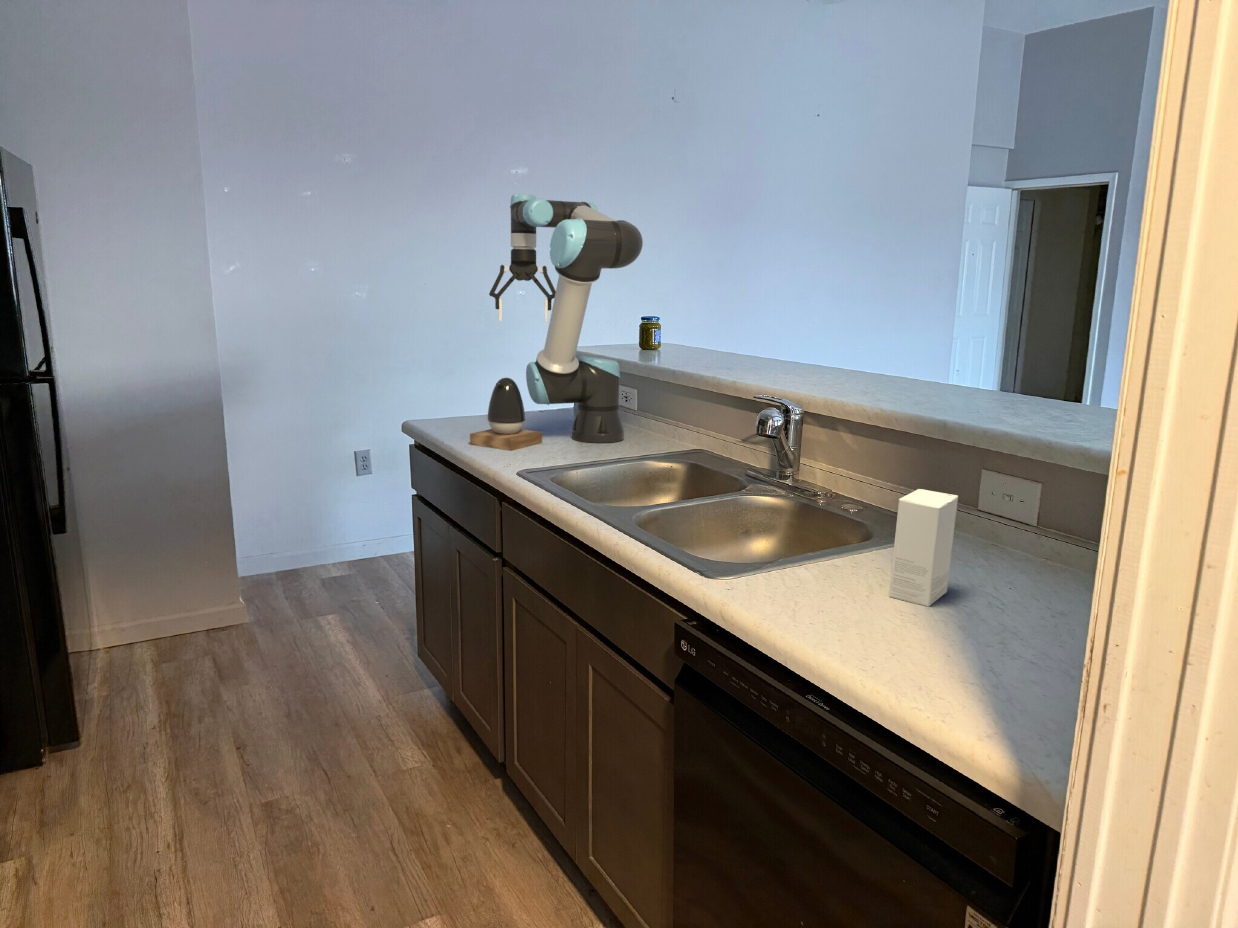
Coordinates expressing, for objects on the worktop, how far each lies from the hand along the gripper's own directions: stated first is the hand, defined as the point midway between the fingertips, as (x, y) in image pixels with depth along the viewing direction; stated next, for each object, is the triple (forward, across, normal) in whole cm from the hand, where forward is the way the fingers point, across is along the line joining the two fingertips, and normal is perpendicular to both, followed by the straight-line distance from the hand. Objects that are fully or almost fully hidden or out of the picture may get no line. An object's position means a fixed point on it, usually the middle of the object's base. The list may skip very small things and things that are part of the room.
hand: (523, 321), depth 268 cm
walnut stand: (+32, +4, +30) cm, 44 cm away
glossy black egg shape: (+29, +5, +30) cm, 42 cm away
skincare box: (+32, -60, +150) cm, 165 cm away
